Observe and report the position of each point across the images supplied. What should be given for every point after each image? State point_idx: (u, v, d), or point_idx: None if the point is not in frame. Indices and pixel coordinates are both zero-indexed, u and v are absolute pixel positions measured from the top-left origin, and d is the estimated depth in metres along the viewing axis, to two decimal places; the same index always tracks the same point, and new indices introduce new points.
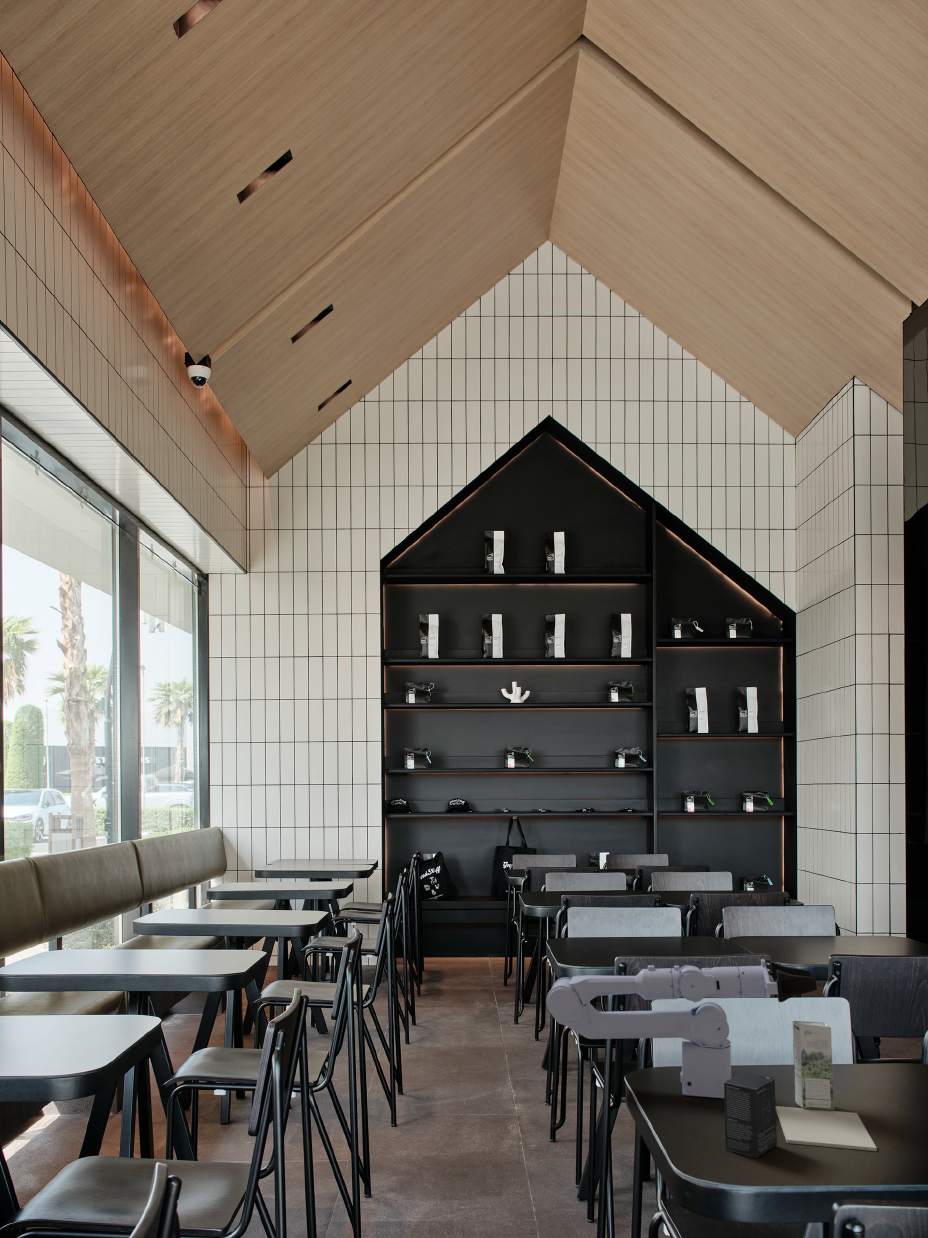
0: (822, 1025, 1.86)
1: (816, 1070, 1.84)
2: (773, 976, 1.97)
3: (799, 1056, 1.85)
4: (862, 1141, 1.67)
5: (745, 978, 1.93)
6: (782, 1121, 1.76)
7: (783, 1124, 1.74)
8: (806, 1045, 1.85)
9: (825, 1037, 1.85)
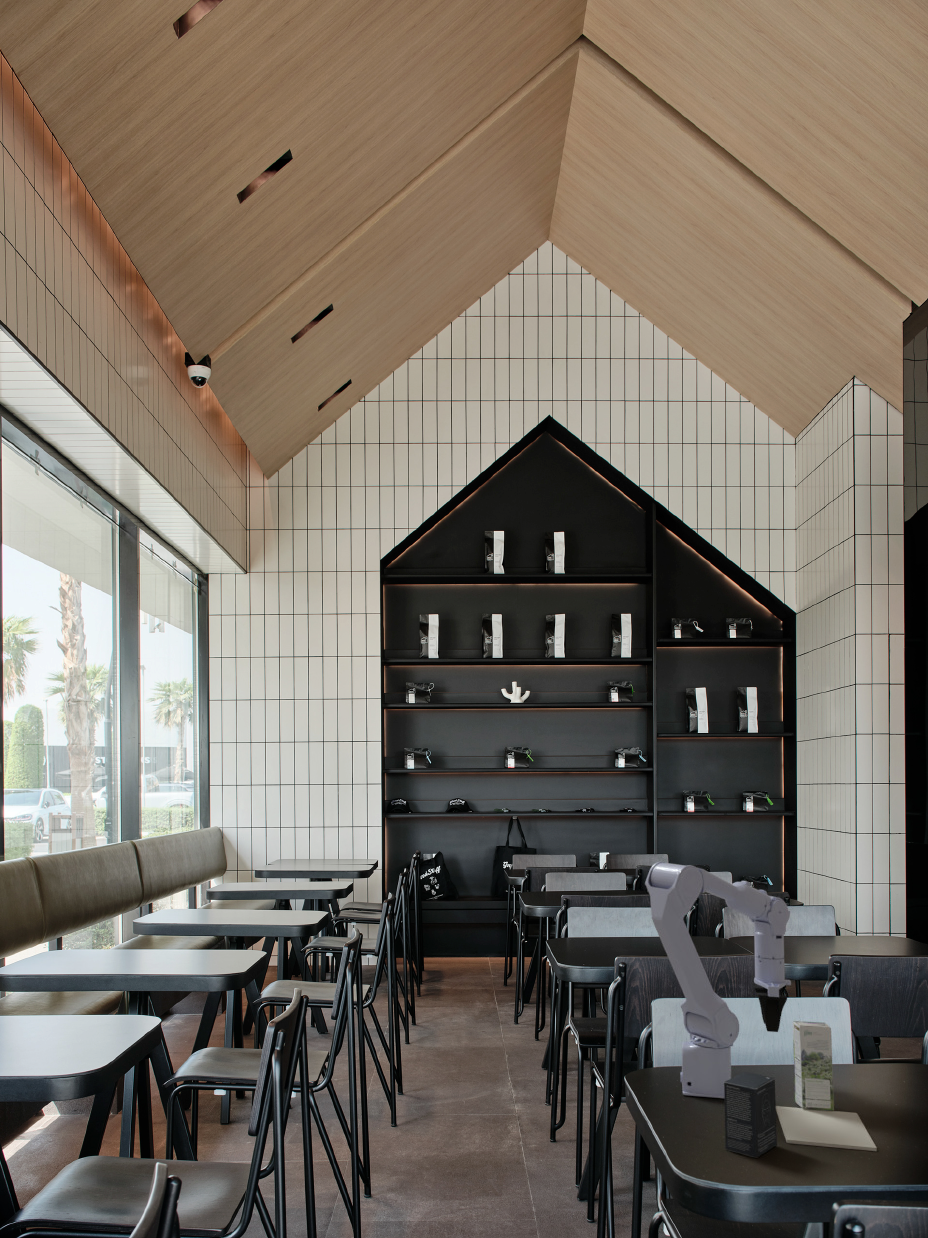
0: (822, 1025, 1.86)
1: (816, 1070, 1.83)
2: None
3: (799, 1056, 1.85)
4: (862, 1141, 1.67)
5: (776, 964, 2.01)
6: (782, 1121, 1.76)
7: (783, 1124, 1.74)
8: (806, 1045, 1.85)
9: (825, 1037, 1.85)
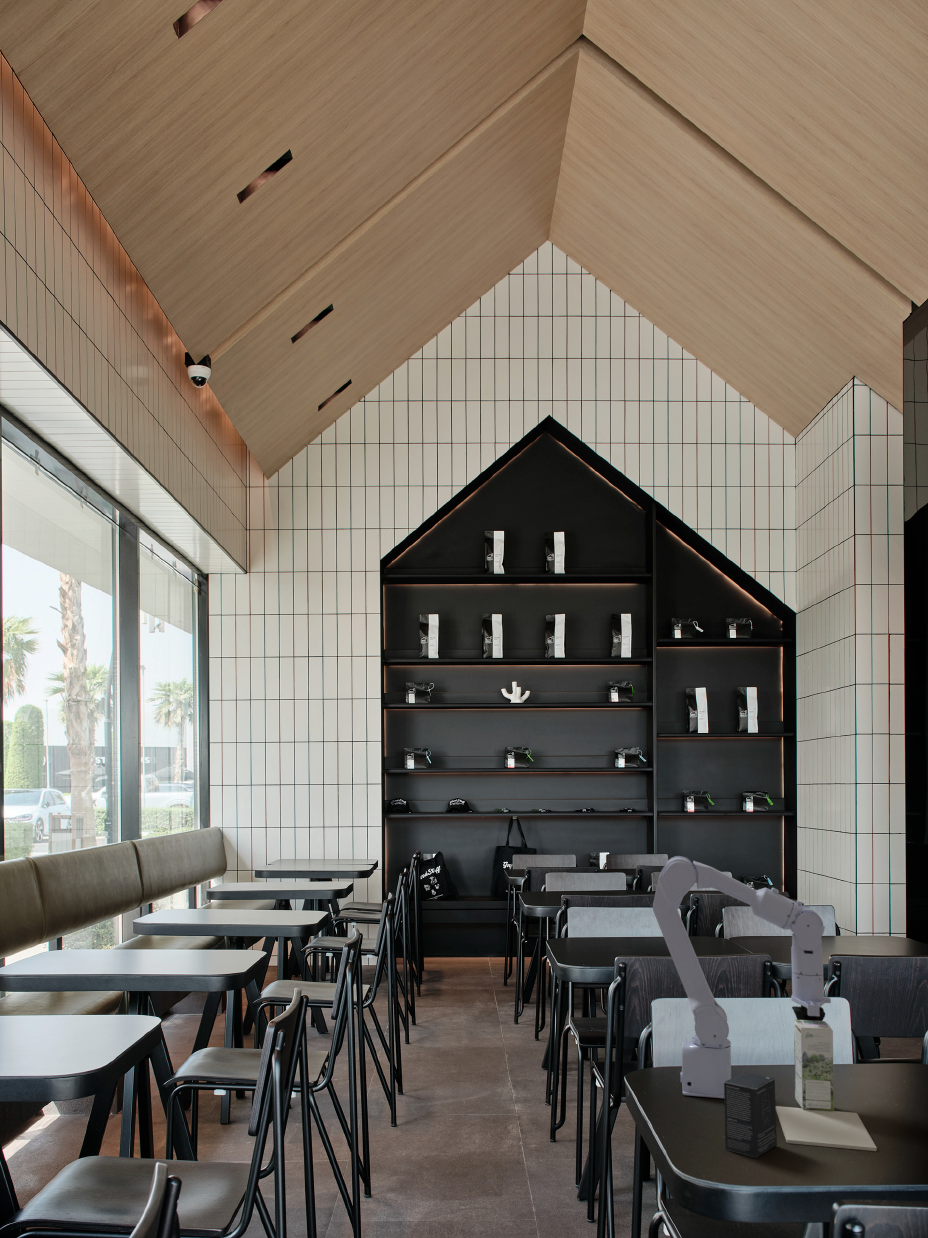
0: (824, 1027, 1.84)
1: (817, 1072, 1.83)
2: None
3: (800, 1058, 1.84)
4: (862, 1141, 1.67)
5: (815, 981, 1.90)
6: (782, 1121, 1.76)
7: (783, 1124, 1.74)
8: (807, 1048, 1.83)
9: (827, 1040, 1.83)
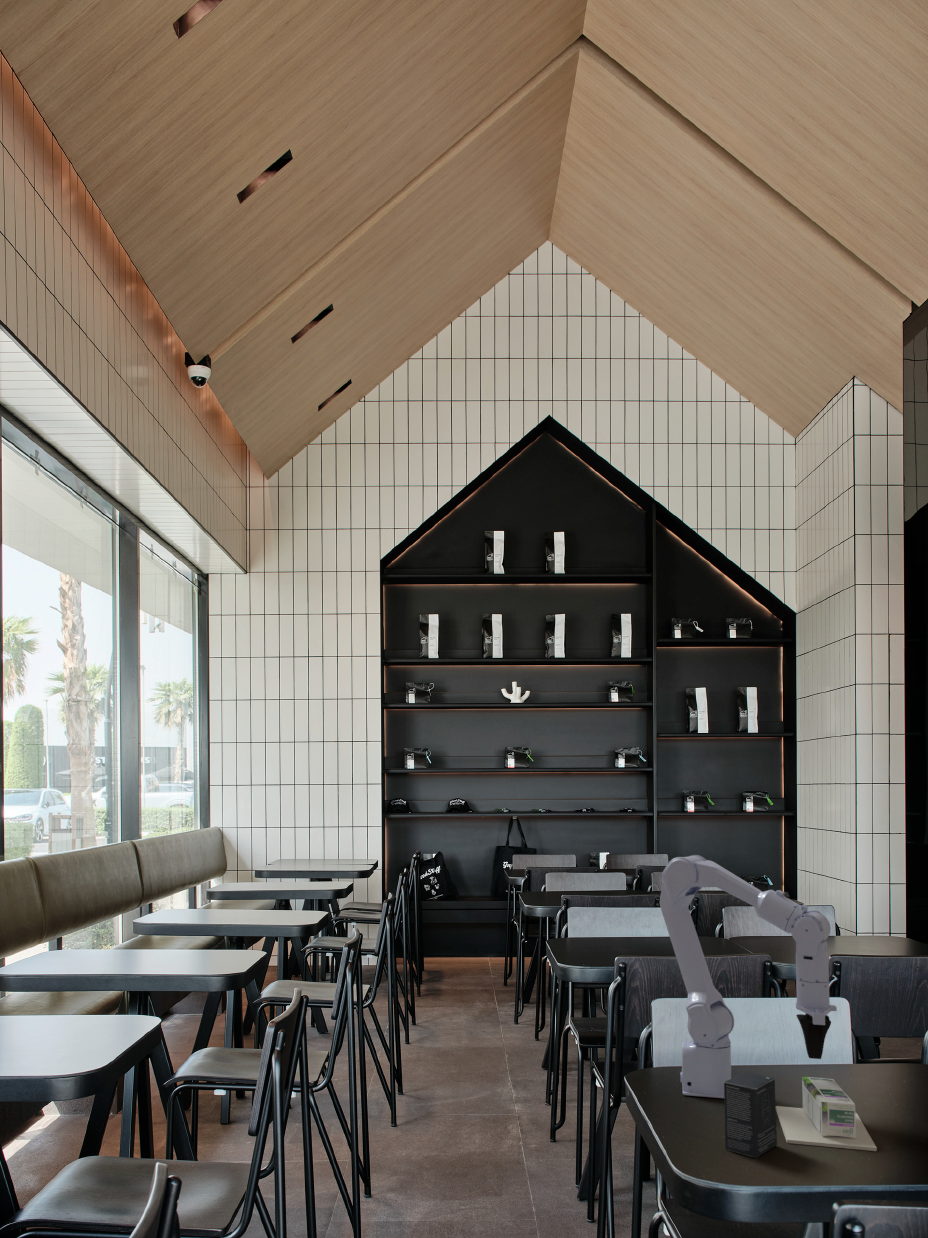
0: (848, 1134, 1.68)
1: None
2: None
3: (813, 1120, 1.74)
4: (862, 1141, 1.67)
5: (821, 988, 1.83)
6: (782, 1121, 1.76)
7: (783, 1124, 1.74)
8: None
9: None
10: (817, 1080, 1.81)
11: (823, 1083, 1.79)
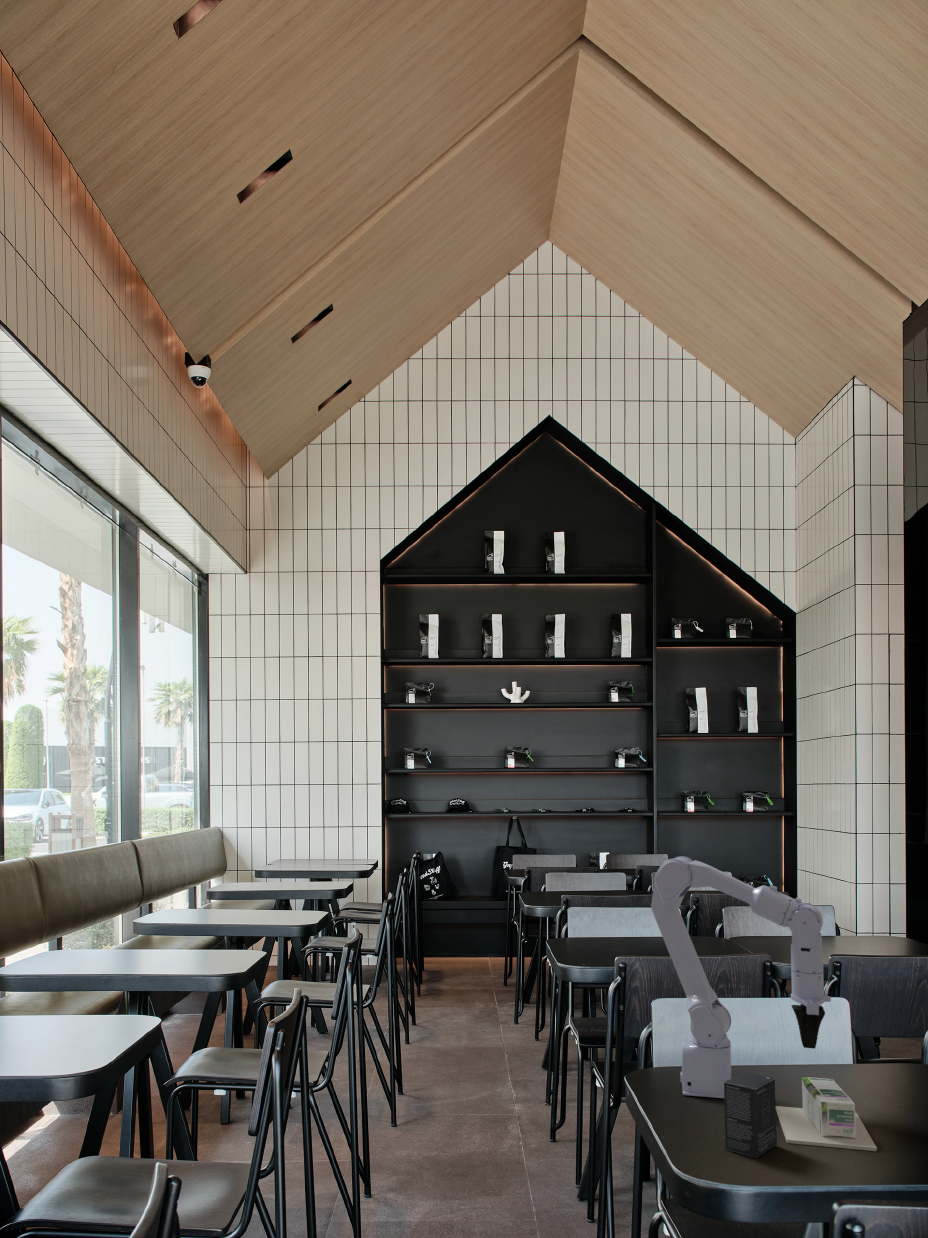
0: (848, 1134, 1.68)
1: None
2: None
3: (813, 1120, 1.74)
4: (862, 1141, 1.67)
5: (815, 979, 1.87)
6: (782, 1121, 1.76)
7: (783, 1124, 1.74)
8: None
9: None
10: (817, 1080, 1.81)
11: (823, 1083, 1.79)
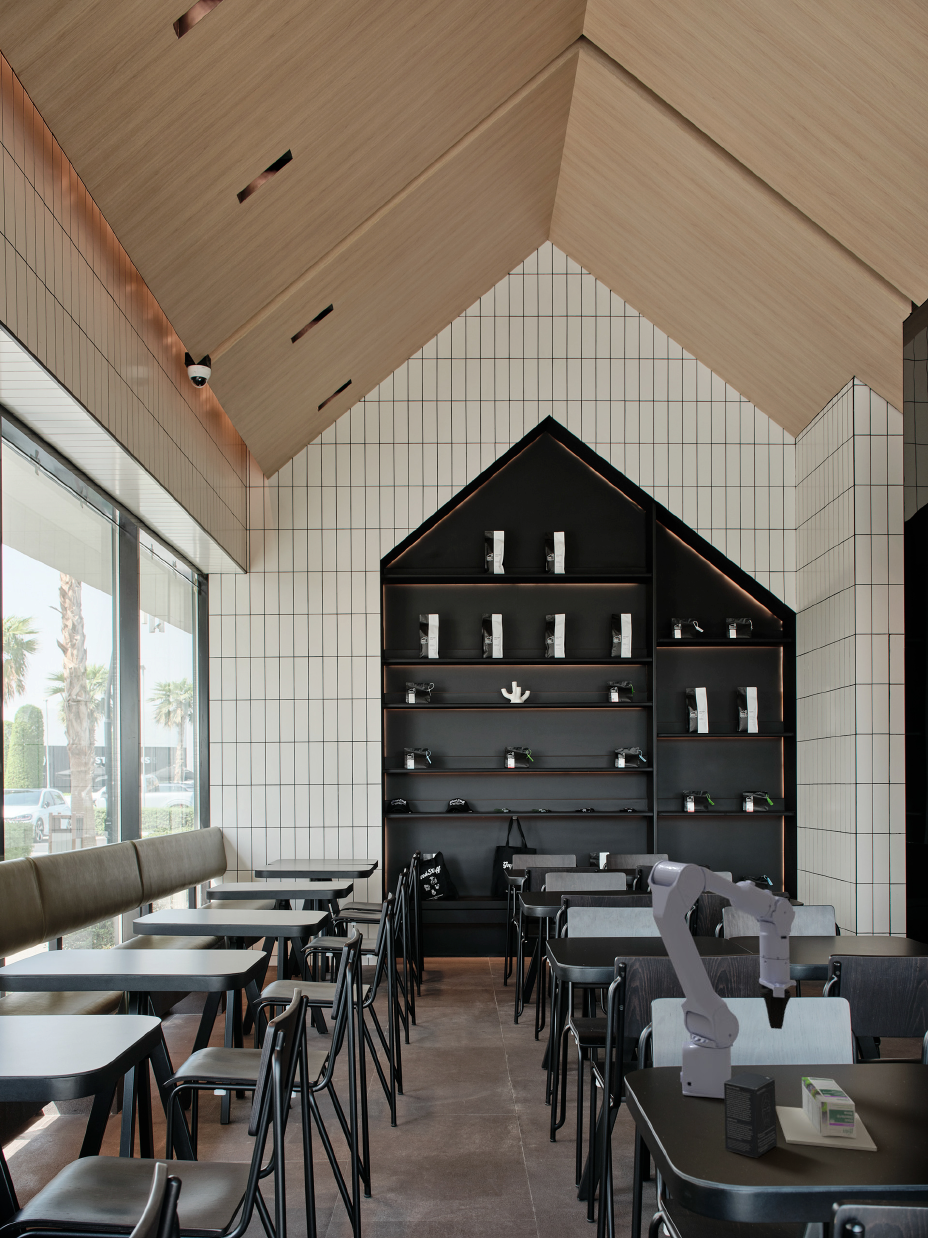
0: (848, 1134, 1.68)
1: None
2: None
3: (813, 1120, 1.74)
4: (862, 1141, 1.67)
5: (782, 965, 2.01)
6: (782, 1121, 1.76)
7: (783, 1124, 1.74)
8: None
9: None
10: (817, 1080, 1.81)
11: (823, 1083, 1.79)
